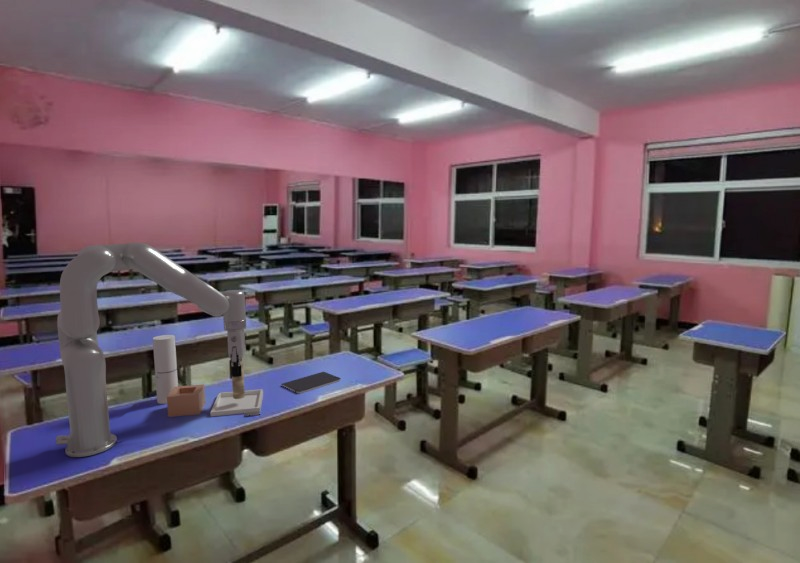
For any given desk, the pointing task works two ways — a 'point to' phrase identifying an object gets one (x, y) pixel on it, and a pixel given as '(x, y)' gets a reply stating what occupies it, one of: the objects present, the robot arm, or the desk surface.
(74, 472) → the desk surface
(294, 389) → the notebook
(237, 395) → the dowel pin
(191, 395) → the deep holder
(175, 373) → the cylindrical container
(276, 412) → the desk surface
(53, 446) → the desk surface
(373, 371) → the desk surface
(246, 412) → the tray
